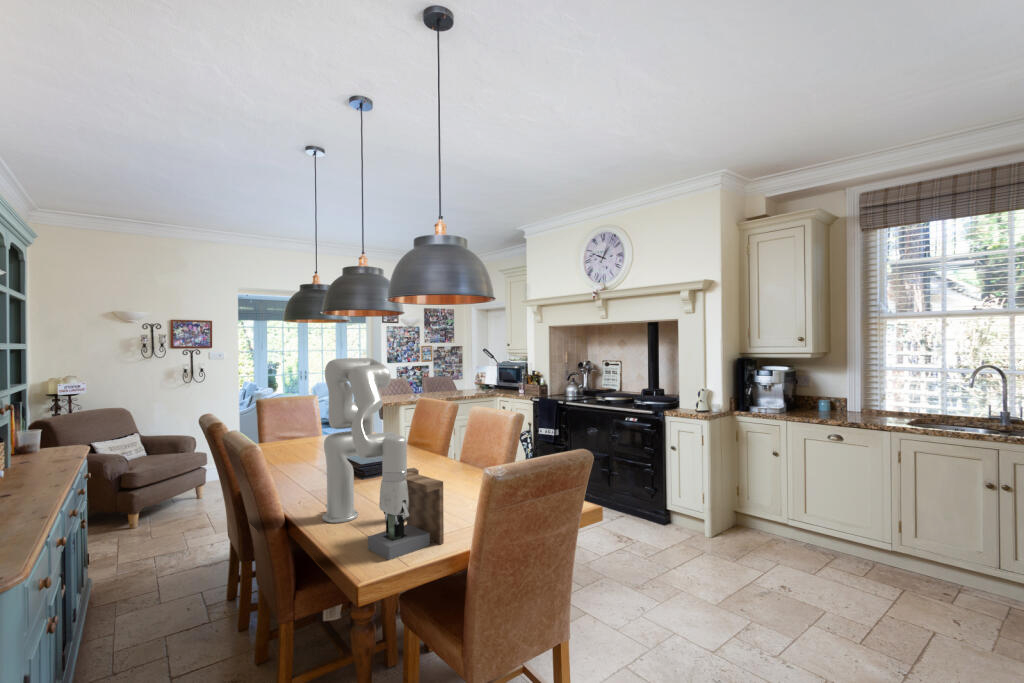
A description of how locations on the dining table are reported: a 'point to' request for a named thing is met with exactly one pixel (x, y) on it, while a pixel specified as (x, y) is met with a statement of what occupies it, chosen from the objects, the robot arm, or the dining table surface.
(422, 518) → the brown notched wall
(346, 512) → the robot arm
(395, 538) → the peg
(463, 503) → the dining table surface
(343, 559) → the dining table surface
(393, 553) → the socket block
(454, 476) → the dining table surface
